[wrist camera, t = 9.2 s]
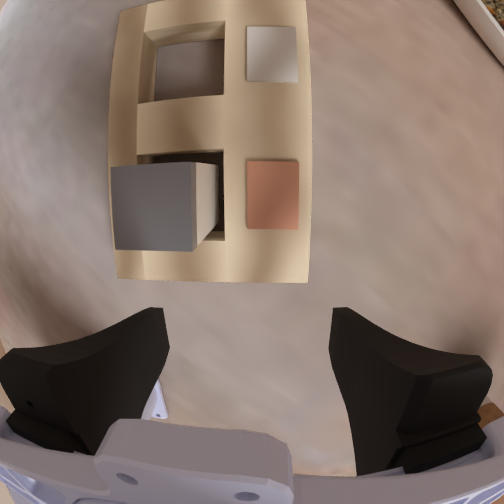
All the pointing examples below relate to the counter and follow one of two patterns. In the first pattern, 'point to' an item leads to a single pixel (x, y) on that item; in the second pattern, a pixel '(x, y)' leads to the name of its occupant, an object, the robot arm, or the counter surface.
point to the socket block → (223, 134)
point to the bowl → (486, 22)
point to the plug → (164, 205)
